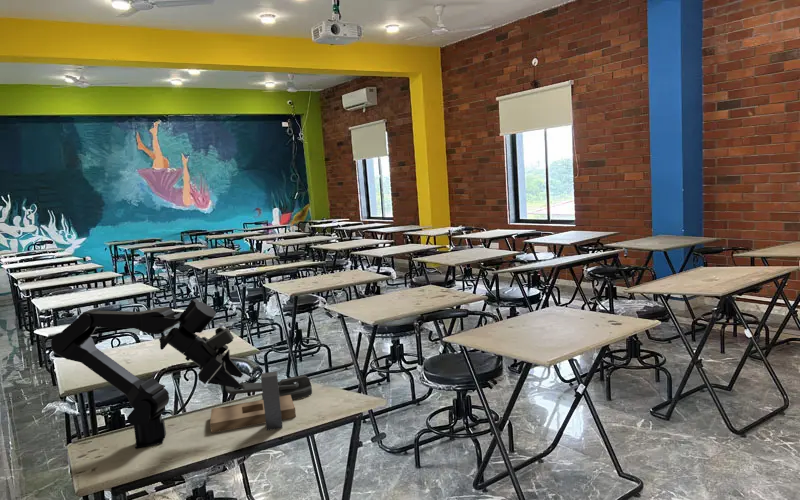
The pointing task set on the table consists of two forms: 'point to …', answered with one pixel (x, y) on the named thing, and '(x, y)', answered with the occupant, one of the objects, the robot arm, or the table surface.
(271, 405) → the dark grey square post
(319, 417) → the table surface
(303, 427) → the table surface
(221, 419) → the post foot
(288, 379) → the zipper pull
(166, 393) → the robot arm
